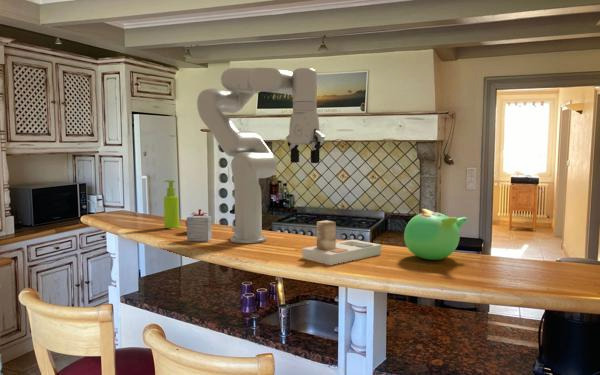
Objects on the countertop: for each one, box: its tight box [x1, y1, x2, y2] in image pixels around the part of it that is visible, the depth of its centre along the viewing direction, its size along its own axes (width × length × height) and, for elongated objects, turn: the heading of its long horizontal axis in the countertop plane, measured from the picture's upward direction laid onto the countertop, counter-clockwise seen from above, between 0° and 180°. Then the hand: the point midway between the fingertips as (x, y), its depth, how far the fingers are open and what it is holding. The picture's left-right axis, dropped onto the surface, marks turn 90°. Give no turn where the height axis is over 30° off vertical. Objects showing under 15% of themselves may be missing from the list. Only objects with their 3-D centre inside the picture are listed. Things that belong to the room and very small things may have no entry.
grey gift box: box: [186, 215, 213, 242], centre depth 172 cm, size 8×4×9 cm, turn 84°
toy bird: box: [403, 208, 469, 261], centre depth 142 cm, size 18×17×15 cm
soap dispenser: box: [163, 179, 180, 229], centre depth 199 cm, size 6×7×20 cm
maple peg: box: [316, 219, 337, 251], centre depth 143 cm, size 4×4×11 cm
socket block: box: [301, 239, 382, 266], centre depth 146 cm, size 12×22×3 cm, turn 131°
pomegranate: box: [184, 208, 212, 228], centre depth 188 cm, size 10×10×9 cm
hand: (304, 162), depth 152 cm, fingers open, 9 cm apart
